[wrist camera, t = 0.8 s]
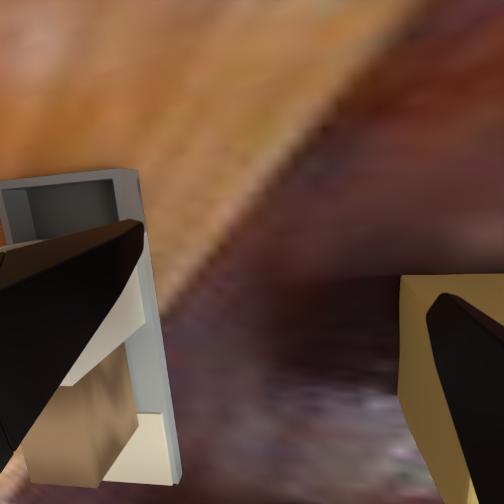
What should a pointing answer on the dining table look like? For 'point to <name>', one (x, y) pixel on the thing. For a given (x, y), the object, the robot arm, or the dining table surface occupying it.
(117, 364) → the walnut block
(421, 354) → the cheese
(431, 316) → the robot arm
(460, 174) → the dining table surface
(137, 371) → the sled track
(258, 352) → the dining table surface
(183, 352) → the dining table surface
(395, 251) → the dining table surface
